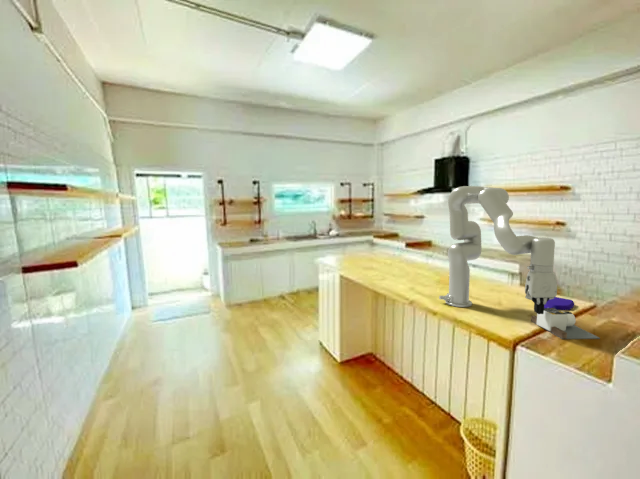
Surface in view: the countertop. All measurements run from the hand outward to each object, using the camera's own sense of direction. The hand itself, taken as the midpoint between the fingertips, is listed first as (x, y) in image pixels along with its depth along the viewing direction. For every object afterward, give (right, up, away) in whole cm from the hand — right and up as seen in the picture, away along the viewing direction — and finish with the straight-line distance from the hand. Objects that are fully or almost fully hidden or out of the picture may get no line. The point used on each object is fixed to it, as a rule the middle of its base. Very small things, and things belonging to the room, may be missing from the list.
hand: (538, 312), depth 126 cm
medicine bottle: (+2, -3, +1) cm, 4 cm away
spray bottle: (+26, -4, +25) cm, 36 cm away
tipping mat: (+10, -7, +1) cm, 12 cm away
